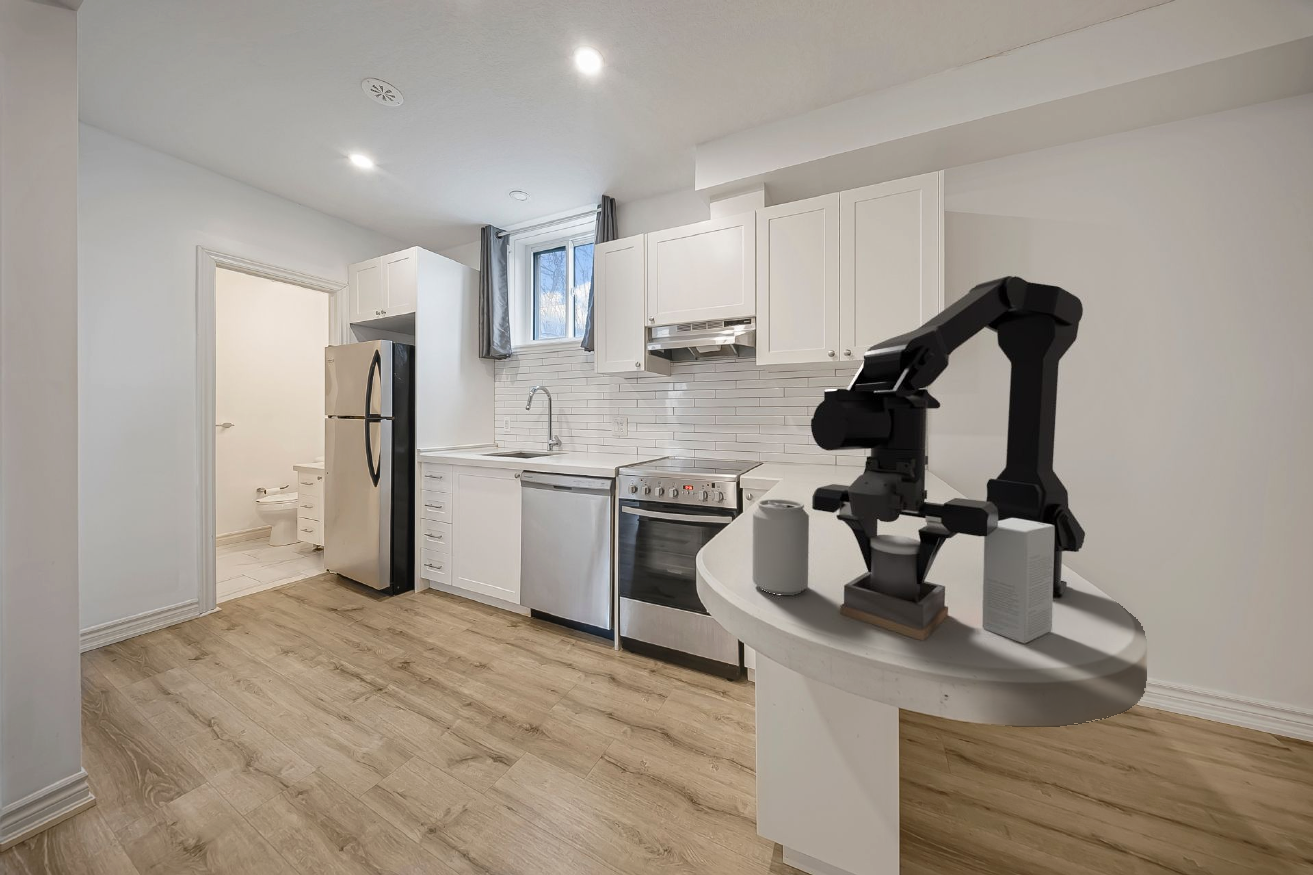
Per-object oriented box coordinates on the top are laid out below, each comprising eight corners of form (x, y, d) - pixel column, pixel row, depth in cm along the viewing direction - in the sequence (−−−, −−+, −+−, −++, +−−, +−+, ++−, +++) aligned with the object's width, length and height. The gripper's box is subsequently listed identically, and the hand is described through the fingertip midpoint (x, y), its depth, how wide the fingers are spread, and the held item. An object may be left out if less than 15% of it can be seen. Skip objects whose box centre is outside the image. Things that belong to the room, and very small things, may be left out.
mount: (870, 593, 60) (871, 567, 60) (947, 614, 54) (948, 586, 53) (840, 613, 54) (840, 585, 54) (923, 641, 47) (924, 608, 47)
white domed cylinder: (879, 586, 57) (880, 532, 57) (927, 598, 54) (928, 540, 53) (862, 598, 54) (863, 540, 53) (911, 612, 50) (912, 550, 49)
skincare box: (1008, 616, 53) (1011, 516, 52) (1052, 632, 49) (1057, 524, 49) (979, 628, 50) (982, 522, 50) (1024, 645, 46) (1028, 531, 46)
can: (811, 600, 58) (813, 508, 57) (752, 596, 59) (753, 506, 59) (804, 579, 65) (805, 498, 65) (752, 576, 67) (752, 496, 66)
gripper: (790, 447, 54) (789, 574, 55) (975, 458, 40) (970, 626, 41) (833, 443, 62) (831, 554, 62) (1001, 450, 48) (996, 593, 49)
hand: (894, 577), depth 54 cm, fingers closed on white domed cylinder, 5 cm apart
